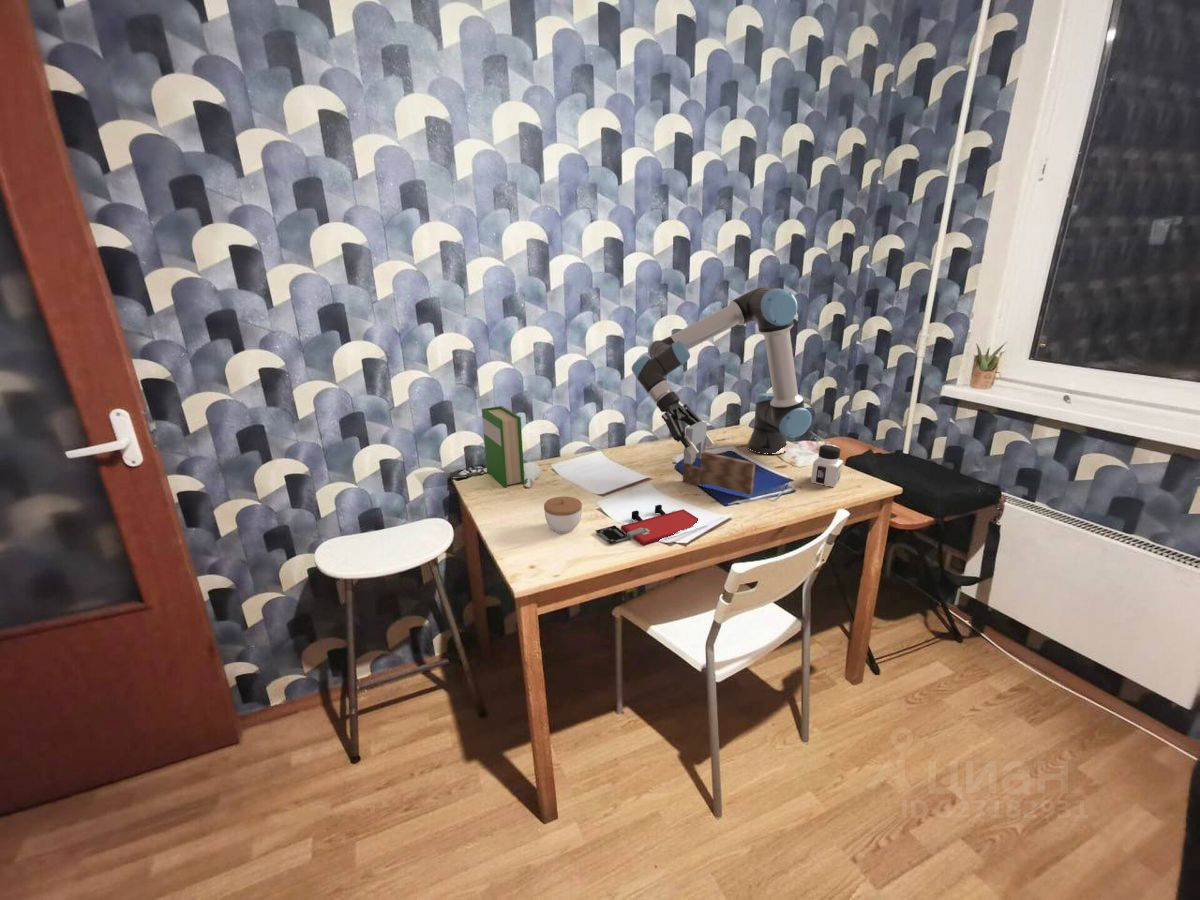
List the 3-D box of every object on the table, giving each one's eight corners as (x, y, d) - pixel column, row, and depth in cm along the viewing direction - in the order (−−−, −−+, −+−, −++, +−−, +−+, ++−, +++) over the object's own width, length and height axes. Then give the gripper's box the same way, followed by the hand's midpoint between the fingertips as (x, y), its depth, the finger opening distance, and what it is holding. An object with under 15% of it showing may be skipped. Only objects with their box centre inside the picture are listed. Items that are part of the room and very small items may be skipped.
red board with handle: (591, 530, 152) (619, 554, 140) (591, 521, 151) (619, 545, 139) (675, 508, 166) (707, 528, 154) (676, 500, 165) (708, 520, 153)
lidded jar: (537, 528, 153) (535, 498, 150) (565, 516, 160) (564, 488, 157) (561, 541, 146) (560, 510, 143) (590, 528, 153) (589, 498, 150)
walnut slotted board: (682, 482, 185) (684, 449, 181) (685, 480, 186) (686, 447, 182) (749, 499, 170) (753, 464, 167) (752, 497, 172) (755, 462, 168)
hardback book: (524, 483, 185) (520, 417, 177) (504, 488, 181) (499, 420, 173) (506, 468, 199) (501, 406, 191) (487, 472, 196) (481, 408, 188)
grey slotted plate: (684, 462, 177) (685, 428, 173) (698, 454, 184) (700, 421, 180) (690, 464, 175) (692, 429, 171) (704, 456, 183) (707, 422, 179)
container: (833, 488, 179) (839, 451, 174) (810, 482, 183) (815, 447, 179) (840, 481, 184) (845, 445, 180) (817, 476, 189) (821, 441, 185)
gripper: (674, 397, 192) (711, 447, 188) (639, 410, 175) (679, 465, 171) (688, 384, 187) (726, 435, 183) (653, 396, 170) (694, 453, 166)
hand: (703, 450), depth 177 cm, fingers closed on grey slotted plate, 10 cm apart
